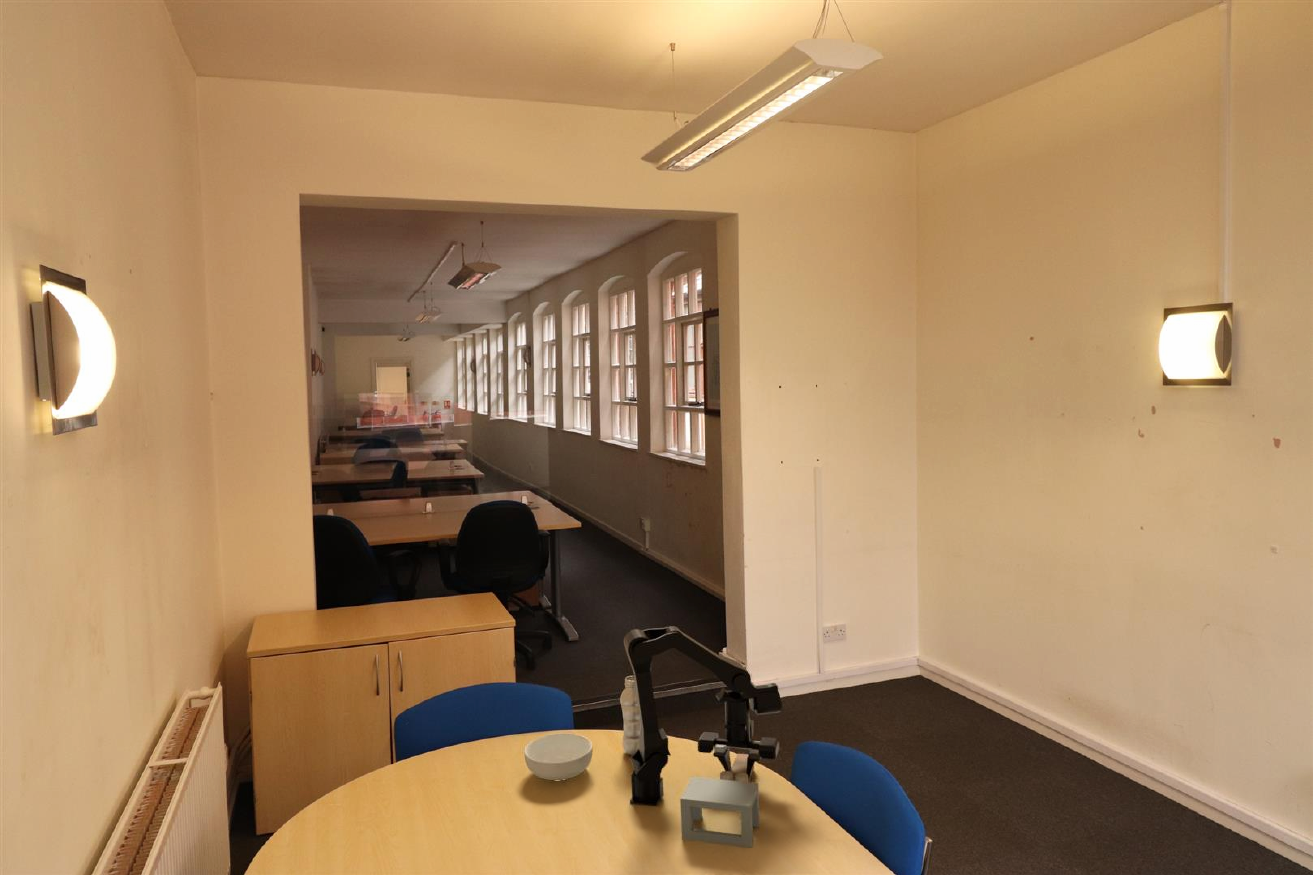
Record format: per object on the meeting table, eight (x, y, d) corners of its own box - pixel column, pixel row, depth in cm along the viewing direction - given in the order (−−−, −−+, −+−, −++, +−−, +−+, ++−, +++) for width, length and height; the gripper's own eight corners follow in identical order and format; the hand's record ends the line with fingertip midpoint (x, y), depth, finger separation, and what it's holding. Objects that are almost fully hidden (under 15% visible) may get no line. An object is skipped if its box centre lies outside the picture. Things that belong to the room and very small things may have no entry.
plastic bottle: (645, 758, 223) (642, 683, 221) (619, 757, 224) (616, 682, 222) (650, 747, 229) (647, 674, 227) (625, 746, 231) (622, 673, 229)
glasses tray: (732, 766, 216) (731, 747, 216) (760, 769, 214) (759, 749, 213) (716, 802, 199) (715, 781, 198) (746, 805, 197) (745, 784, 196)
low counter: (681, 838, 185) (680, 798, 184) (693, 814, 194) (691, 776, 194) (751, 847, 181) (750, 806, 180) (759, 822, 190) (758, 783, 189)
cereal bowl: (540, 797, 205) (539, 768, 205) (516, 769, 220) (514, 743, 219) (605, 777, 214) (603, 750, 213) (577, 752, 228) (576, 726, 227)
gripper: (781, 706, 210) (783, 767, 212) (707, 700, 216) (709, 760, 217) (774, 724, 200) (776, 789, 201) (696, 718, 205) (698, 781, 207)
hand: (739, 779), depth 207 cm, fingers closed on glasses tray, 4 cm apart
